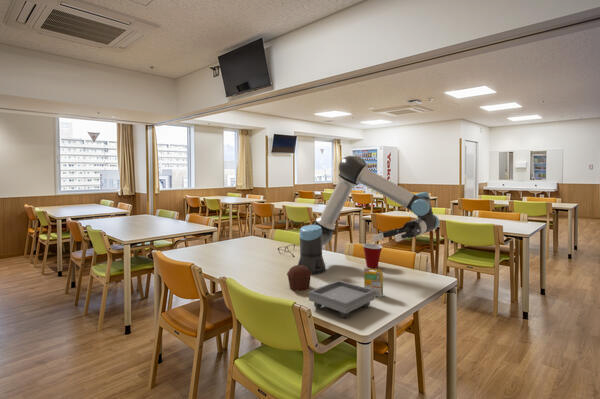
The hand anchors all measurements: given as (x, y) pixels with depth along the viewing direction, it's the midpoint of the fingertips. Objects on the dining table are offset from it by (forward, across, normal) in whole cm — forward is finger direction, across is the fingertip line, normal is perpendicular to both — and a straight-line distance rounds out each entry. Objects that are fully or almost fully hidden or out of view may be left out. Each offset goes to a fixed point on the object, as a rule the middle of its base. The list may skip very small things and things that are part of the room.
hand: (384, 238), depth 153 cm
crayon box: (+13, -1, -21) cm, 25 cm away
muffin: (+33, +25, -14) cm, 44 cm away
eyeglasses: (0, +81, -9) cm, 82 cm away
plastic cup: (-16, +29, -19) cm, 39 cm away
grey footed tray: (+33, -3, -19) cm, 38 cm away
